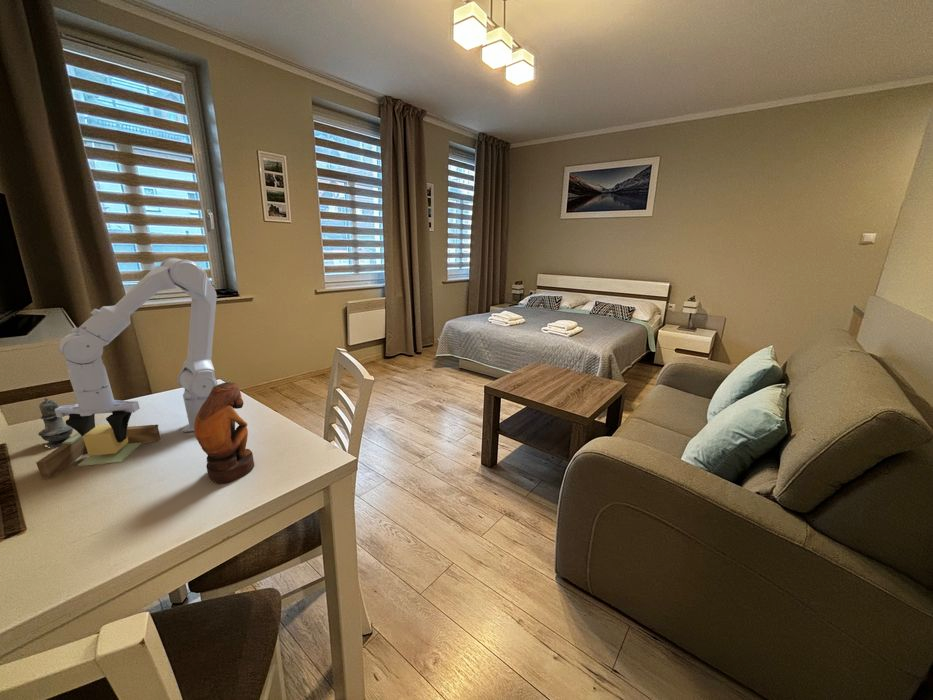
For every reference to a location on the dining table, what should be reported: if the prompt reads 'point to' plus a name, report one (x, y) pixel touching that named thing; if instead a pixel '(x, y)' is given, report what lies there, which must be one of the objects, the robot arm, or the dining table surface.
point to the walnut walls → (77, 448)
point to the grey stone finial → (53, 425)
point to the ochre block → (102, 441)
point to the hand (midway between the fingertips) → (107, 441)
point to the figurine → (223, 434)
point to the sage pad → (111, 456)
